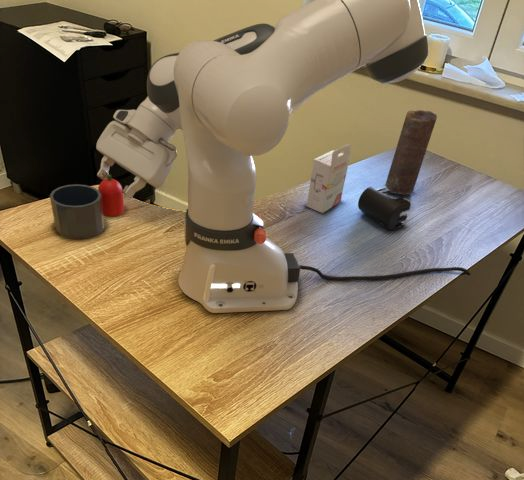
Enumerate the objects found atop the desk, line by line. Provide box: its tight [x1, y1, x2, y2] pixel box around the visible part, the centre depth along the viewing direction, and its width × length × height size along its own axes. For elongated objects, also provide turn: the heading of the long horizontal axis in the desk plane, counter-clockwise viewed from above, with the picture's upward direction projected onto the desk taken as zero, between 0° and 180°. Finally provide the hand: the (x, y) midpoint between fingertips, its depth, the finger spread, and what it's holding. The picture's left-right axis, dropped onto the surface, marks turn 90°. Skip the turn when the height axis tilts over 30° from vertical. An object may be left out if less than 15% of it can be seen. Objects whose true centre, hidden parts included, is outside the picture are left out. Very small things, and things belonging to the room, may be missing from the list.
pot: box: [49, 183, 105, 240], centre depth 107 cm, size 10×10×7 cm
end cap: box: [357, 186, 412, 231], centre depth 123 cm, size 10×7×7 cm
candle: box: [384, 109, 438, 196], centre depth 132 cm, size 8×7×20 cm
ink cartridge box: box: [306, 143, 352, 214], centre depth 124 cm, size 9×5×15 cm, turn 143°
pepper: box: [97, 174, 125, 217], centre depth 113 cm, size 5×5×8 cm
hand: (113, 186), depth 113 cm, fingers open, 8 cm apart
